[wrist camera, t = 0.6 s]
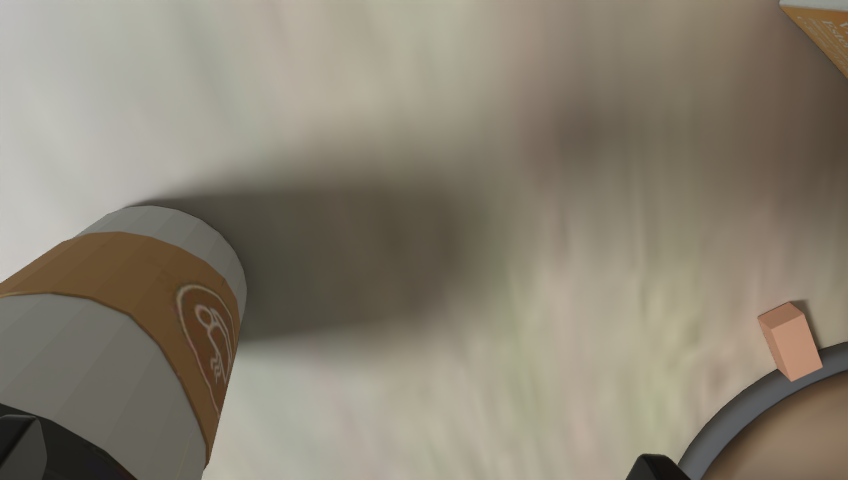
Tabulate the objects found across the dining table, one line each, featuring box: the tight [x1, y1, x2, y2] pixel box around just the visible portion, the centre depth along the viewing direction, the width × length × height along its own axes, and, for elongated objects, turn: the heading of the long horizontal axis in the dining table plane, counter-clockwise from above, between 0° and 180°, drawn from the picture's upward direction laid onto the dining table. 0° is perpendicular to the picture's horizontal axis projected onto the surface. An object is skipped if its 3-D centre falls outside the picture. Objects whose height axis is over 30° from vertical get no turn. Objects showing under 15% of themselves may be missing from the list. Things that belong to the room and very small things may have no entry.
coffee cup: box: [0, 206, 247, 480], centre depth 17 cm, size 8×8×15 cm
